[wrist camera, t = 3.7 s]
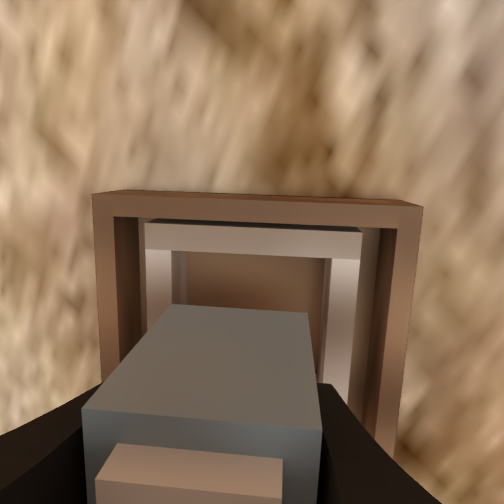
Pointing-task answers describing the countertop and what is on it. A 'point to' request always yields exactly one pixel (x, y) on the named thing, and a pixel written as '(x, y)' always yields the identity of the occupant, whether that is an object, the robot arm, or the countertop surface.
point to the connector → (208, 413)
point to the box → (269, 278)
